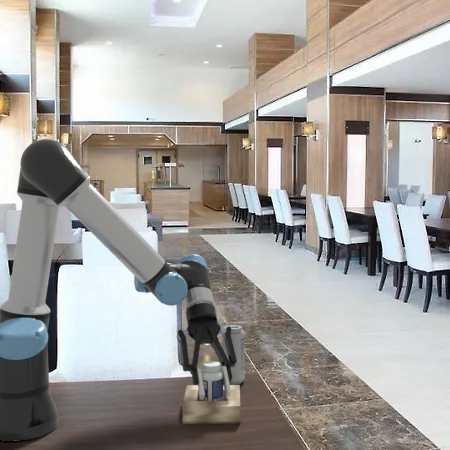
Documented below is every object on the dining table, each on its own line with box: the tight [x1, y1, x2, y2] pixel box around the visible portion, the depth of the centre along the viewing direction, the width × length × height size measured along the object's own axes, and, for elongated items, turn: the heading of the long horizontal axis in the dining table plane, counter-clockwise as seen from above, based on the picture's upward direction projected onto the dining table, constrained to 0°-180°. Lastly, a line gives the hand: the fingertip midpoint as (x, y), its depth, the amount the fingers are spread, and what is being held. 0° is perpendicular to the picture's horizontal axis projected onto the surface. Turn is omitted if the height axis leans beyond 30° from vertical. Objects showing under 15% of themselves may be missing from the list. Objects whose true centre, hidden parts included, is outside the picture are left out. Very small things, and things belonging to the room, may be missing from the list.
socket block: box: [182, 384, 241, 425], centre depth 138 cm, size 13×13×4 cm
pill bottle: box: [201, 360, 224, 401], centre depth 137 cm, size 5×5×10 cm
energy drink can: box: [221, 324, 246, 385], centre depth 157 cm, size 6×6×15 cm
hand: (215, 395), depth 134 cm, fingers closed on pill bottle, 5 cm apart
